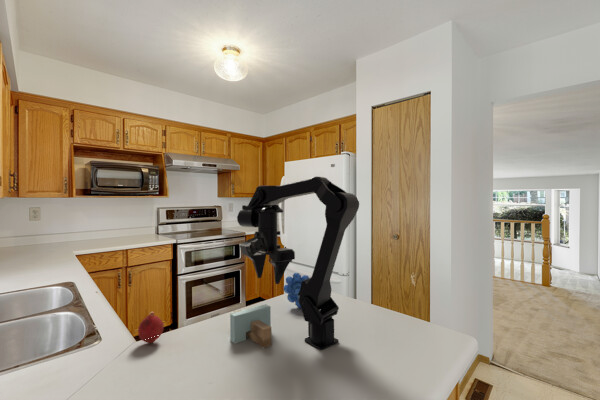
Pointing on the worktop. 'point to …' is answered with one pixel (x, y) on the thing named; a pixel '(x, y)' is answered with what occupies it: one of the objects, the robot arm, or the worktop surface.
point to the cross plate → (247, 321)
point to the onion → (150, 328)
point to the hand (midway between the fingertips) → (268, 280)
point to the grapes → (294, 287)
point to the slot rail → (259, 333)
